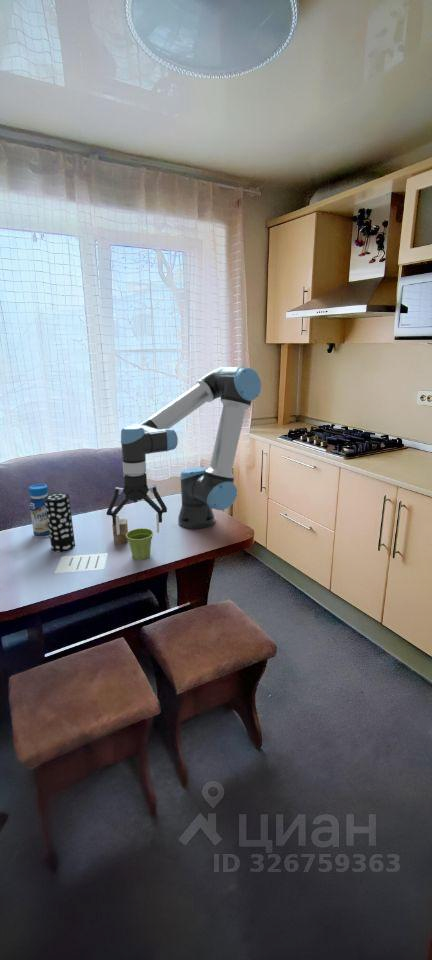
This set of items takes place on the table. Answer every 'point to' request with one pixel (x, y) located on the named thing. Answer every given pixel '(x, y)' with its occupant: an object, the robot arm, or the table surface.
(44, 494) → the beverage bottle
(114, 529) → the block
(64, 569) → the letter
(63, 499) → the white-spotted black cylinder
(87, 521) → the table surface
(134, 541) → the plant pot
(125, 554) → the table surface
